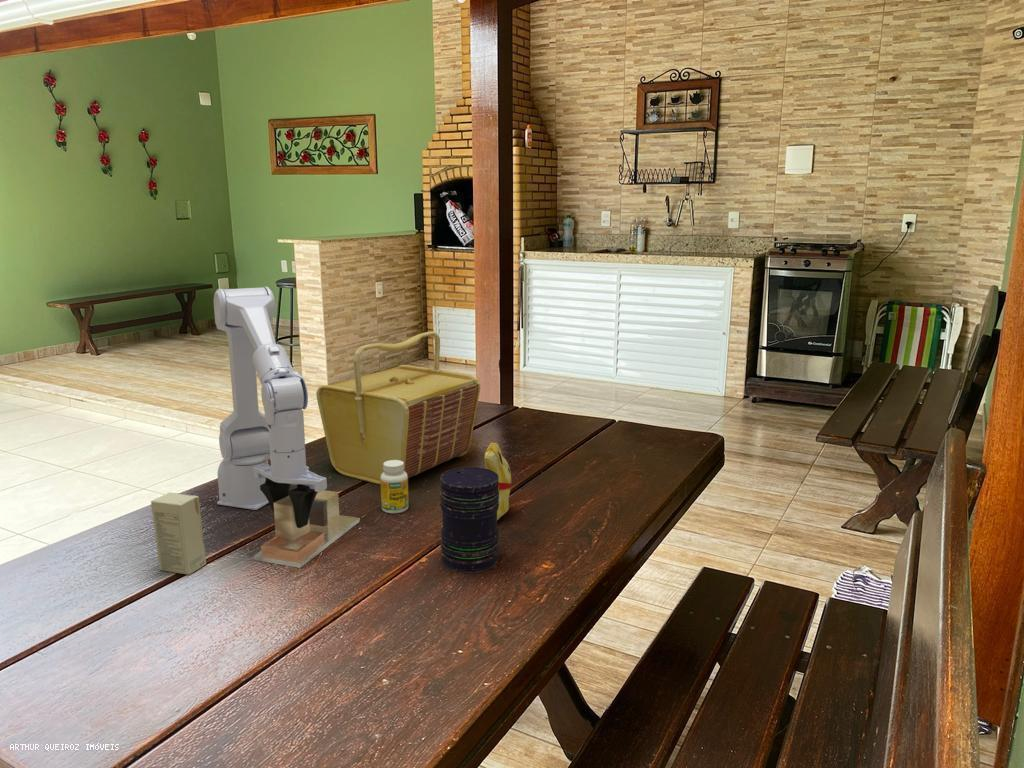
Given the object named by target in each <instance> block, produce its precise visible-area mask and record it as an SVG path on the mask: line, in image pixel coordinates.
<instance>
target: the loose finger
mask: <svg viewBox="0 0 1024 768" xmlns="http://www.w3.org/2000/svg"><path fill="white" fill-rule="evenodd" d="M273 517H274V529H275V530H274V531H275V536H279V537H283V538H287V539H290V540H295V539H297V538H299V537H301V536H303V535H304V534H306V533H308V532H310V527H309V525H310V515H309V520H308V524H307V525H305V526H303V527H302V528H297V526H296V522H295V514H294V508H293V504H292V501H291V499H290V497H289V495H288V496H287V497H285V498H283V499H281V500H278V501H276V502H274V514H273Z"/></svg>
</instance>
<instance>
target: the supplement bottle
mask: <svg viewBox="0 0 1024 768" xmlns="http://www.w3.org/2000/svg"><path fill="white" fill-rule="evenodd" d="M383 470H384V471H385V472H383V473H382V474H381V477H380V481H381V485H380V500H381V501H380V504H381V510H382V511H383V512H385V513H387V514H400V513H405V512H406V511H407V510H408V509H409V502H410V501H409V478H408V475H407V473H406V472H405V471H403V470H404V462H403V461H400V460H390V461H386V462H384V463H383Z"/></svg>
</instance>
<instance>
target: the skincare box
mask: <svg viewBox="0 0 1024 768" xmlns="http://www.w3.org/2000/svg"><path fill="white" fill-rule="evenodd" d="M150 506H151V512H152V519H153V528H154V535H155V537H154V538H155V542H156V543H155V544H156V551H157V558H158V566H159V570H160V571H164V572H170V573H175V574H176V573H177V574H180V575H181V574H182V575H191V574H192V573H194V572H196V571H198V570H200V568H203V566H205V565H207V559H206V550H205V548H206V547H205V542H204V541H205V539H204V531H203V523H202V515H201V506H200V497H199V496H198V495H193V494H186V493H178V492H168V493H166V494H163V495H161V496H159V497H157V498H155V499H152V500H151V501H150Z"/></svg>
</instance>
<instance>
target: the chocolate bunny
mask: <svg viewBox="0 0 1024 768" xmlns="http://www.w3.org/2000/svg"><path fill="white" fill-rule="evenodd" d="M483 461H484V465H485V469H489V470H492V471H494V472H496V473H497V474H498V476H499V482H498V485H499V508H498V510H497V521H498V520H500V518H501V517H503V516H504V515H505V514H506V513H507V512H508V511H509V510H510V502H509V500H510V499H509V498H510V493H511V489H512V485H513V483H512V475H511V474H512V471H511V467H510V465H509V463H508V461H507V460H506V458H505V457H504V456H503V454H502V449H501V448H500V445H499V444H498V443H497V442H491V443H490V444H489V445H488V446H487V448H486V450H485V453H484V460H483Z"/></svg>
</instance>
